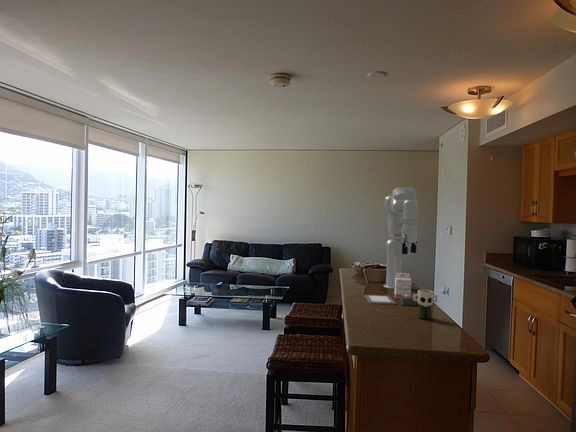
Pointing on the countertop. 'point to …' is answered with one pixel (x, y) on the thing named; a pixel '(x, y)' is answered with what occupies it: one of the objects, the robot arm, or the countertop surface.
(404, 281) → the ink cartridge box
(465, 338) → the countertop surface
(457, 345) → the countertop surface
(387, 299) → the drawing board
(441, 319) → the countertop surface
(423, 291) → the character mug
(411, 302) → the button housing
